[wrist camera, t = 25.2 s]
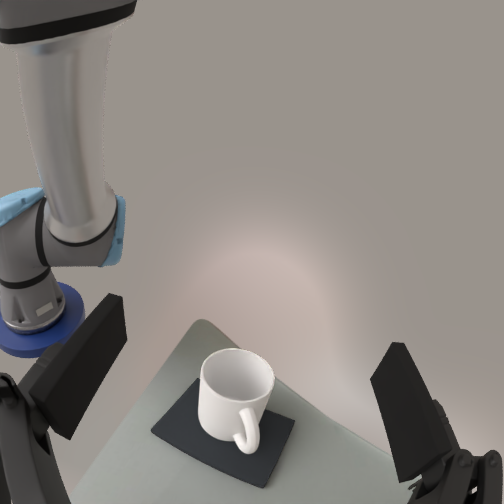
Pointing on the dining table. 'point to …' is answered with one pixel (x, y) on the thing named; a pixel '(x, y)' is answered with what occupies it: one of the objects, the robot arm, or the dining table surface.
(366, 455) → the dining table surface
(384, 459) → the dining table surface
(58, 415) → the robot arm
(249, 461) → the placemat
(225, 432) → the mug
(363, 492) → the dining table surface
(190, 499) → the dining table surface
